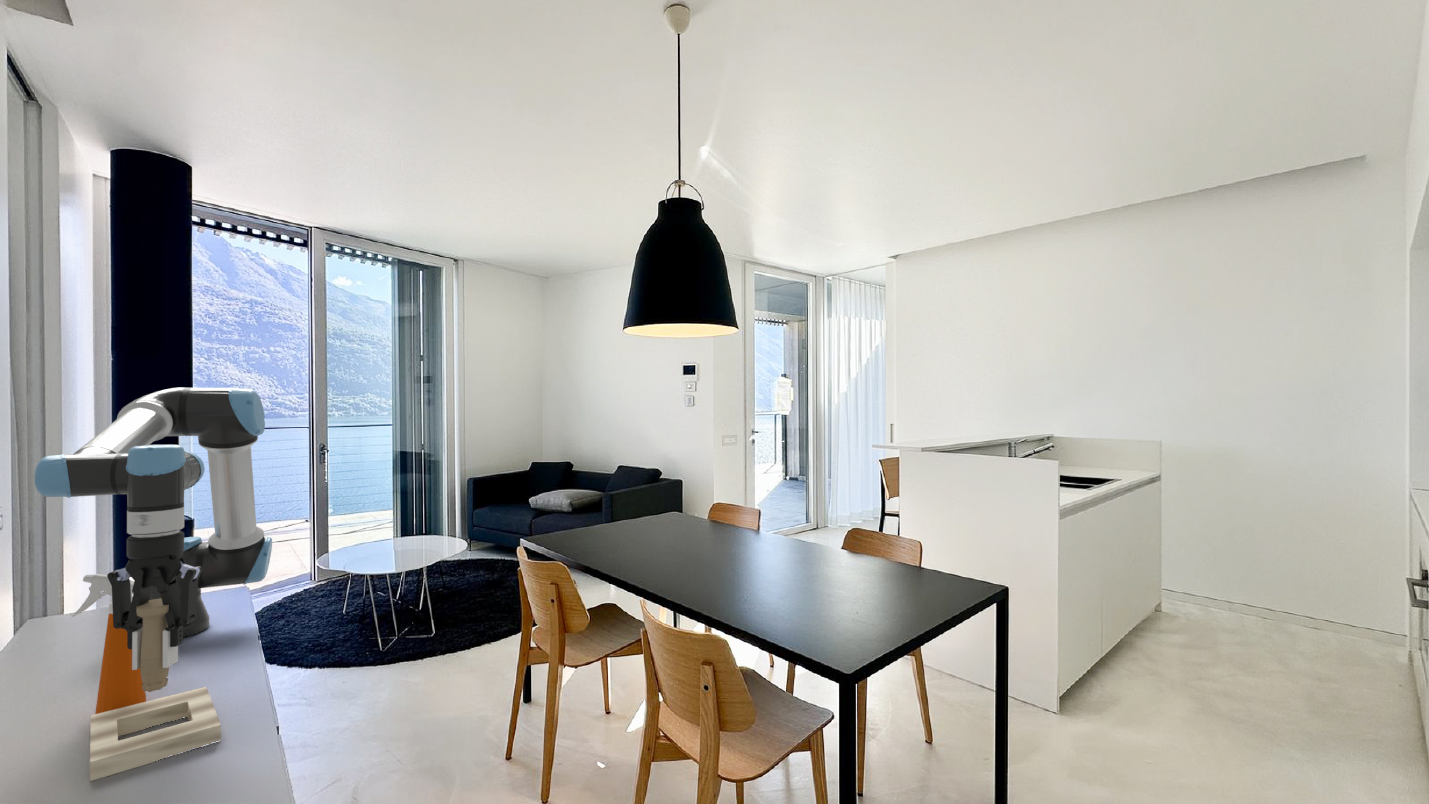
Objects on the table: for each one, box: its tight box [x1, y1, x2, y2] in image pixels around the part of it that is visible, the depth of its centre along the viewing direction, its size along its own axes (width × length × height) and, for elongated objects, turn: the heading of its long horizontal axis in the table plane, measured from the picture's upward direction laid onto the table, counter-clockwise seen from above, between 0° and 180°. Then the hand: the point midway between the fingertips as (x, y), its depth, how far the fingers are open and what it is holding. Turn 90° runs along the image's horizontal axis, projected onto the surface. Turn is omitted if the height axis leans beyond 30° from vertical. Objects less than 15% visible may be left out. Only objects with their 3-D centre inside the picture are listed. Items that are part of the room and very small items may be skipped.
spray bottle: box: [71, 572, 147, 715], centre depth 118 cm, size 7×11×26 cm, turn 111°
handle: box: [137, 598, 170, 693], centre depth 109 cm, size 5×6×15 cm
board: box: [89, 686, 222, 782], centre depth 109 cm, size 20×16×3 cm
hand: (155, 665), depth 109 cm, fingers closed on handle, 4 cm apart
